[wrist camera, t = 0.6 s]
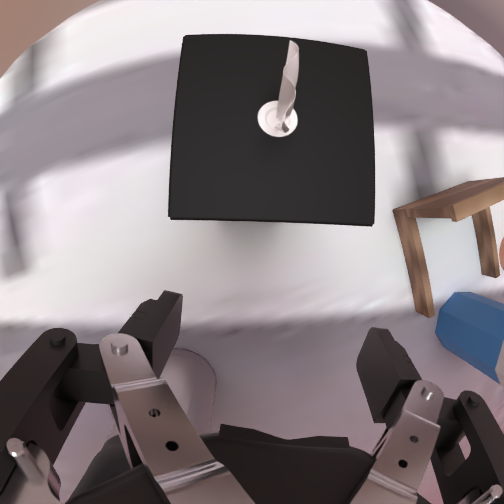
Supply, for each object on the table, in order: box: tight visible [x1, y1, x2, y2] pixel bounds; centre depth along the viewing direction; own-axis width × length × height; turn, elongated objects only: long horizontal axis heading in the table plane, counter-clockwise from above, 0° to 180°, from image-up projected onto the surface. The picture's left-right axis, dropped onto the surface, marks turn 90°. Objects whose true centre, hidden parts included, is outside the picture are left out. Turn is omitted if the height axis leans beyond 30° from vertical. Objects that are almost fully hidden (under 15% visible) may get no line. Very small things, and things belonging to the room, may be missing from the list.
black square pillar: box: [168, 34, 375, 227], centre depth 21 cm, size 8×8×28 cm
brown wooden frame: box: [393, 177, 504, 318], centre depth 31 cm, size 15×15×13 cm
